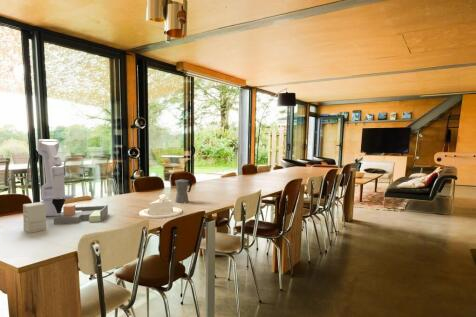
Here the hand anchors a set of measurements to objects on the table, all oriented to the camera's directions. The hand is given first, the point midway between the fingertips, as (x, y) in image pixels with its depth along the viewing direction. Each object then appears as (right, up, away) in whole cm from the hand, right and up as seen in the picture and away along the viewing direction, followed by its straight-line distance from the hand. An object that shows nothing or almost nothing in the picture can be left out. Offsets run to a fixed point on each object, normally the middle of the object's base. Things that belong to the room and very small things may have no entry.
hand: (59, 213), depth 154 cm
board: (+11, -4, +3) cm, 12 cm away
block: (+5, -1, +1) cm, 5 cm away
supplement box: (-1, -5, -17) cm, 18 cm away
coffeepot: (+58, -2, +49) cm, 76 cm away
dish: (+50, -4, +17) cm, 53 cm away
